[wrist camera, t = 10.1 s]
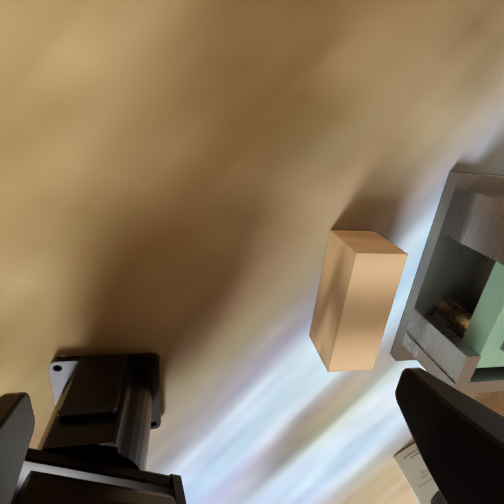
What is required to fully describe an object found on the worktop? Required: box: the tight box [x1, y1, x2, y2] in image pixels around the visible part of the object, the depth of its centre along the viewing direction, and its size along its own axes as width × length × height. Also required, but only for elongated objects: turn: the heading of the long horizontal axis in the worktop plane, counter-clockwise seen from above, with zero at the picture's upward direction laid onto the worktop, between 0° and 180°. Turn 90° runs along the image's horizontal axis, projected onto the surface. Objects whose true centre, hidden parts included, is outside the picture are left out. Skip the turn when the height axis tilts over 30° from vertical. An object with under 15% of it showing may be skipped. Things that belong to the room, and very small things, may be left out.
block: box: [309, 230, 408, 372], centre depth 21 cm, size 8×3×4 cm, turn 175°
